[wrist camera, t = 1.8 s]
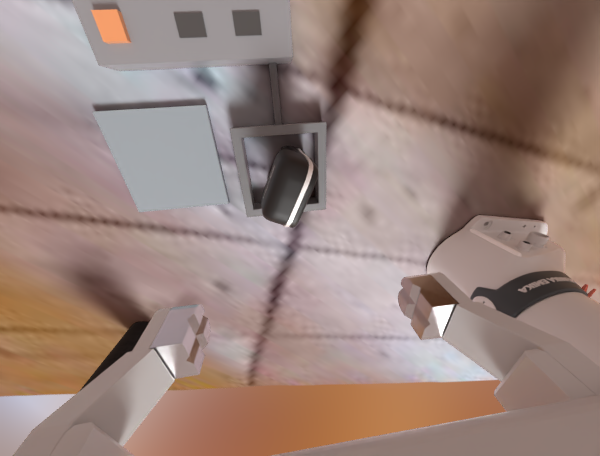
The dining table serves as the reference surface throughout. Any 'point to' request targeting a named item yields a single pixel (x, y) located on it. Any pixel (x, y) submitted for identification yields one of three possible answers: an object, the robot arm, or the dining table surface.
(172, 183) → the slate mat
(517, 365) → the robot arm
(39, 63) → the dining table surface
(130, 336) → the drinking cup
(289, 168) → the battery charger
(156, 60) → the charging station
